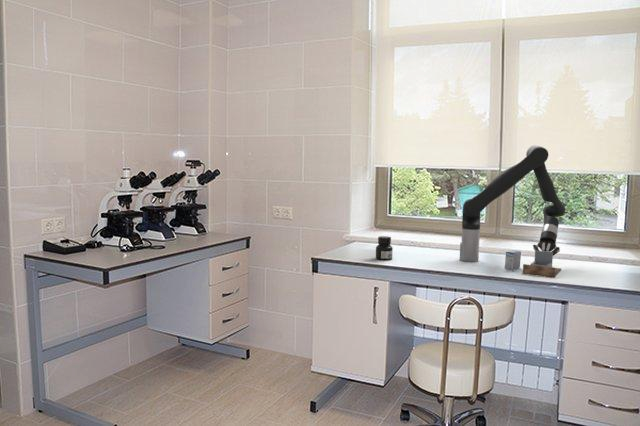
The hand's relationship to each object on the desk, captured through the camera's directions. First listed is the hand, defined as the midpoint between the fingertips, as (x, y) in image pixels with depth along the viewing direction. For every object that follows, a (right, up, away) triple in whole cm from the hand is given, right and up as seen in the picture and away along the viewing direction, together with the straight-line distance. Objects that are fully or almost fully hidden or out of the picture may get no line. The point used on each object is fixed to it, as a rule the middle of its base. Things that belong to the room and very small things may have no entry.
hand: (543, 262), depth 260 cm
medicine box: (-13, -4, +5) cm, 15 cm away
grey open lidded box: (-3, -5, -5) cm, 8 cm away
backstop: (-1, -4, -2) cm, 5 cm away
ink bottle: (-76, -1, +24) cm, 80 cm away
